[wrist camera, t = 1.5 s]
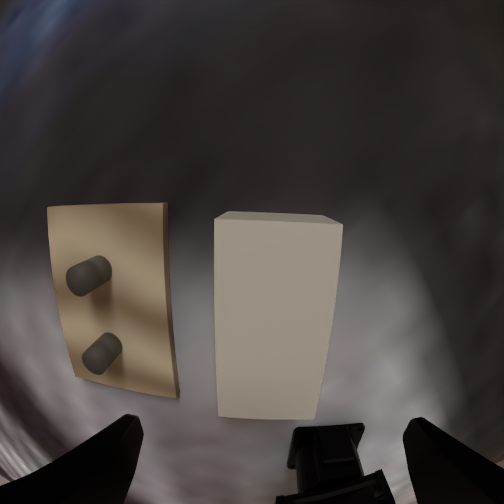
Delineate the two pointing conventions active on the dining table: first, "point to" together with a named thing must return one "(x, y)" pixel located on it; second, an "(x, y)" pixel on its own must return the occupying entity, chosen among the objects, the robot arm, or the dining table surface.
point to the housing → (273, 311)
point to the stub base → (115, 293)
